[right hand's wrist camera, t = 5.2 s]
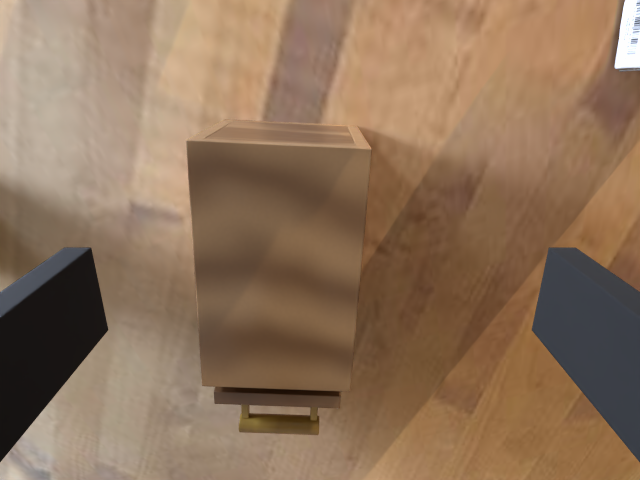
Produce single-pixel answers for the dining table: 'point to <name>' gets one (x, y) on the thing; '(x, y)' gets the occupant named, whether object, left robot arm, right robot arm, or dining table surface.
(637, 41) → the hard drive box
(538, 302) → the right robot arm
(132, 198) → the dining table surface
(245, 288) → the cabinet
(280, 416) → the drawer
